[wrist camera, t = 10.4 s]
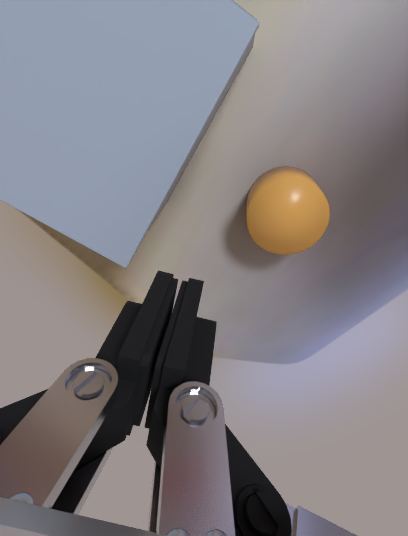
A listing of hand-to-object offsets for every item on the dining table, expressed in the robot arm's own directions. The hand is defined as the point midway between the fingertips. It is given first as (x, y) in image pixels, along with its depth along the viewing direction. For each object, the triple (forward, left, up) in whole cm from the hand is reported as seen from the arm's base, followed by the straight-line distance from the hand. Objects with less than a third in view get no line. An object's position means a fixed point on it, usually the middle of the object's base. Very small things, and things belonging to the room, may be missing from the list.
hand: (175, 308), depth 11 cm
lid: (+11, -2, -8) cm, 14 cm away
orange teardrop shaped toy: (-6, -1, -19) cm, 20 cm away
